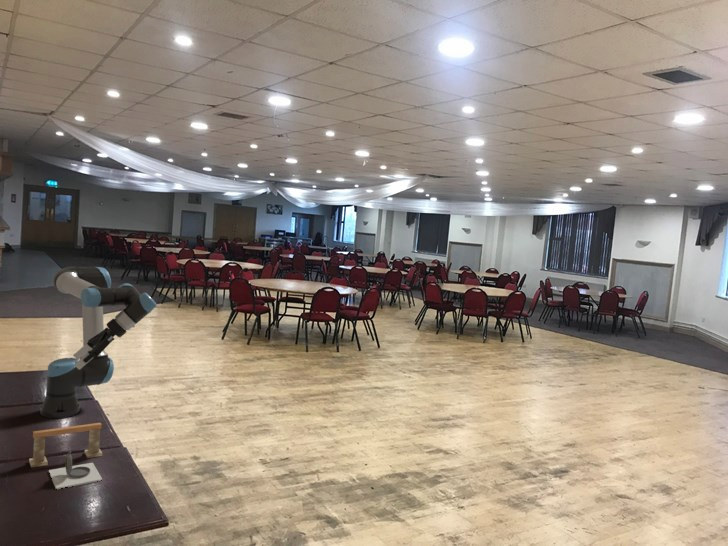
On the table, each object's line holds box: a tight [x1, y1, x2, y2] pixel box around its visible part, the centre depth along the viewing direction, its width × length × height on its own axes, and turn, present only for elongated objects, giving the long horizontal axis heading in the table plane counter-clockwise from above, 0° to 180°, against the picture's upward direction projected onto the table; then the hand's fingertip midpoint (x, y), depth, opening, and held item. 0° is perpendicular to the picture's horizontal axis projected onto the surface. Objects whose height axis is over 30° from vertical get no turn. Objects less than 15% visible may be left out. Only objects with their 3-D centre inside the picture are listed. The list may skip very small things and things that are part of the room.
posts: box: [28, 429, 103, 469], centre depth 200 cm, size 23×5×10 cm, turn 129°
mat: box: [48, 462, 103, 490], centre depth 189 cm, size 14×14×1 cm
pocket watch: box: [64, 447, 90, 477], centre depth 189 cm, size 8×8×10 cm
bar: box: [32, 422, 103, 439], centre depth 200 cm, size 22×2×2 cm, turn 129°
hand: (75, 362), depth 212 cm, fingers open, 13 cm apart
